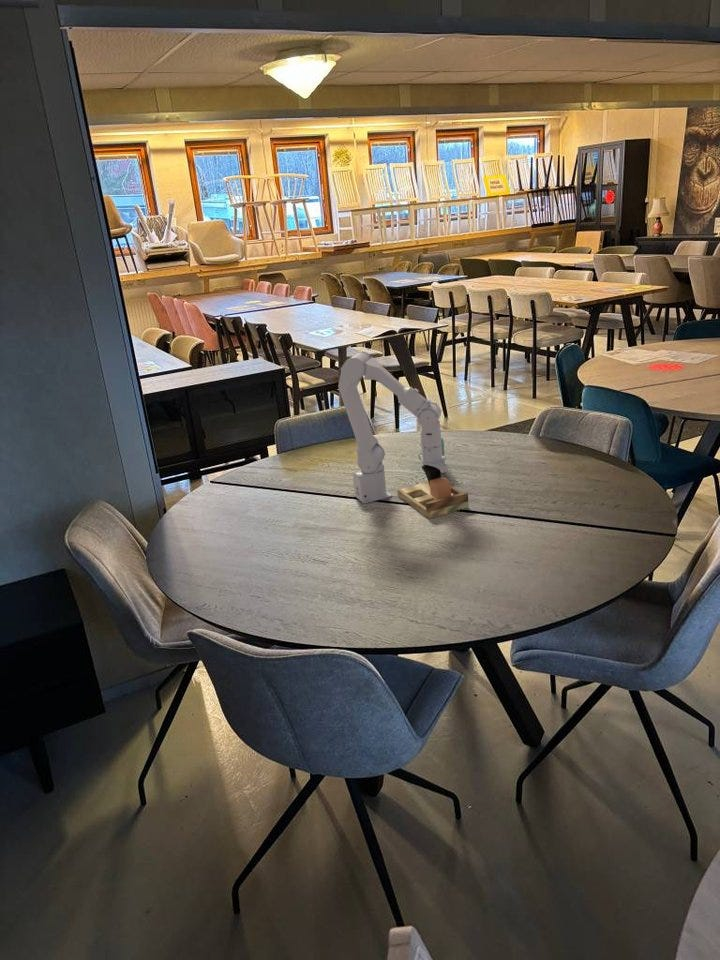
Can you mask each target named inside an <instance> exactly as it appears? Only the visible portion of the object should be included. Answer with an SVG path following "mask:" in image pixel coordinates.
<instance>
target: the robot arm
mask: <svg viewBox="0 0 720 960" xmlns="http://www.w3.org/2000/svg"><path fill="white" fill-rule="evenodd" d="M363 377H364V378H363ZM362 379H363V380H365V381H369V380H372V381H374V380H375V381H377V382H378V383H379V384H380V385H382V386H383V387H385V388H386V389H387V390H389V391H390V392H391V393H393V394H394V395H395V396H396V397H397V400H398V403H399V404H400V405H401V406H403V408H405V409H406V410H407V411H409V413H411V414H412V415H413V416H415V417H417V422H418V424H419V425H420V429H421V430H420V441H421V440H422V446H421V452H419V453H417V454H418V460H420V461H421V463H422V464H423V465H421V469H422V471H423V472H424V474H425V476H426V479H427V482H429V485H430V480H433V479H437V478H441V477H442V474H444V473H447V472H449V469H448V468H449V467H448V464H446V460H447V459H446V456H445V455H444V456H442V446H441V437H442V432H441V422H440V418H441V415H442V410H441V408H440V406H439V405H438V404H437V403H436V402H433V401H431V400H430V399H426V398H425V396H423V395H421V394H420V393H419V392H420V390H419V389H417V388H416V387H415V388H413V387H412V386H404V385H403V384H402V383H401V382H400V381H399V380H398V379H397V378H395V377H394V376H393V374H391V373H390V372H389V371H388V370H387V369H386V368H385V367H384V366H382V364H381V363H380V362H379V361H378V360H377V359H376V358H375V357H372V356H371V355H370V354H369V353H368V352H365V351H357V352H355V353H354V354H353V355H352V356H351V357H350V358H347V360H345V362H343V365H342V366H341V368H340V376H339V380H338V385H337V387H338V390H339V394H340V397H341V399H342V402H343V405H344V408H345V410H346V414H347V417H348V420H349V423H350V426H351V429H352V431H353V435H354V437H355V440H356V454H357V466H358V468H359V469H360V470H358V471H357V472H354V473H353V475H352V480H353V488H354V490H353V491H354V494H353V496H354V497H355V498H357V499H358V501H360V502H361V503H362V504H367V503H372V502H376V501H380V500H384V499H387V498H391V497H392V494H391V493H389V492H388V491H387V485H386V484H387V483H386V474H385V472H386V471H385V465H384V463H383V460H384V459H385V456H386V453H385V452H386V451H385V450H384V448H383V447H382V446H381V444H380V443H379V441H378V439H377V438H376V437H375V436H374V434H373V431H372V428H371V425H370V422H369V419H368V416H367V412H366V409H365V408H364V407H365V406H364V404H363V400H362V397H361V396H360V393H359V389H358V385H359V384H360V382H361V381H362ZM444 460H445V462H444ZM424 464H425V465H424Z"/></svg>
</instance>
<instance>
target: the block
mask: <svg viewBox="0 0 720 960" xmlns="http://www.w3.org/2000/svg"><path fill="white" fill-rule="evenodd" d="M451 486H452V483H451V481H450V480H449V479H447V478H446V477H443V476H441V477H440V478H437V479H433V480H430V494H431V495H432V496H434V497H435V498H437V499H441V498H445V497H449V496H451Z"/></svg>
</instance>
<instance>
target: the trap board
mask: <svg viewBox="0 0 720 960" xmlns="http://www.w3.org/2000/svg"><path fill="white" fill-rule="evenodd" d="M397 496H398V497H399V498H400V499H402V500H403V501H404V502H406V504H408V505H410V506H411V507H412V508H413V509H415V510H416V511H417V512H419V513H420V514H421V515H423V516H424V517H426V518H427V519H433V518H436V517H438V516H443V515H447V514H451V513H454V511H455V512H457V510H458V511H461V510H460V509H462V510H464V508H466V509H468V507H469V493H468V492H466V491H464V492H462V491H460V490H458V488H455V487H453V486H452V485H451V496H449V497H445V498H441V499H437V498H435V497H434V496H432V495H431V494H430V485H429V482H428V481H427V482H422V483H418V484H414V485H410V486H407V487H403V488H398V489H397Z"/></svg>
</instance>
